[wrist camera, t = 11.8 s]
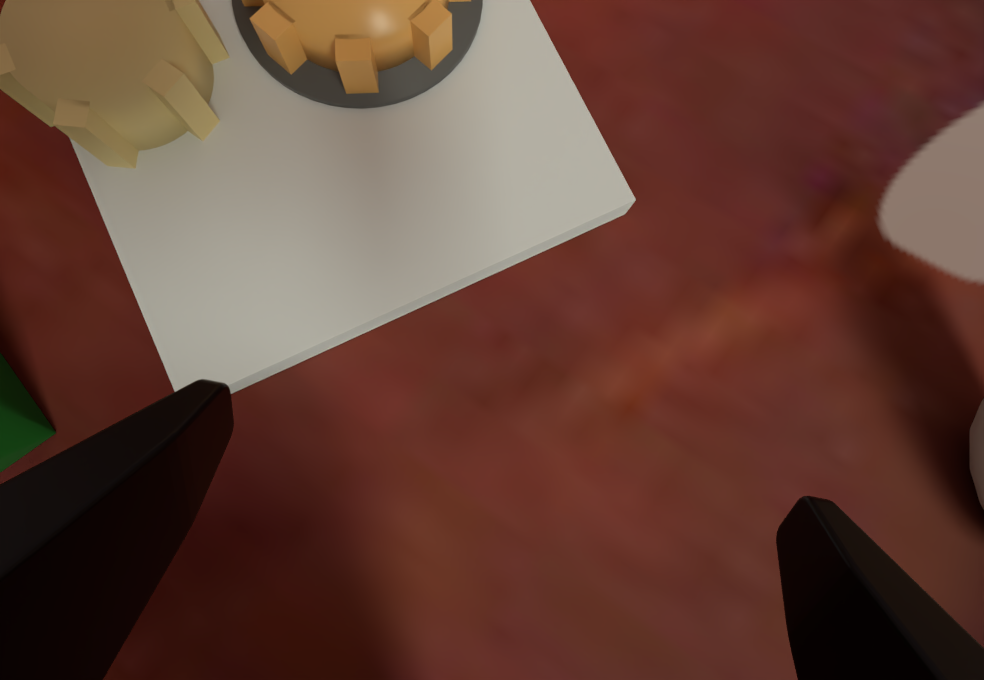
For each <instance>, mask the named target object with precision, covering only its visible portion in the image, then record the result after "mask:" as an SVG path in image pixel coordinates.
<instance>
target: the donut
mask: <svg viewBox="0 0 984 680" xmlns="http://www.w3.org/2000/svg"><path fill="white" fill-rule="evenodd" d="M970 471H971V475H972V478H973V482H974V485H975V488H976V492H977V495H978V498H979V502H980V504H981V506H982V508H983V509H984V398H983V400H982V401H981V404H980V406H979V408H978V411H977V413H976V416H975V418H974V420H973V423H972V425H971V427H970Z"/></svg>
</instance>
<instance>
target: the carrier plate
mask: <svg viewBox="0 0 984 680" xmlns="http://www.w3.org/2000/svg"><path fill="white" fill-rule="evenodd" d="M261 7H263V6H244V4H243V2H242V0H6V1H5V3H4V6H3V8H2V11H1V14H0V89H1V90H2V91H3V92H5V93H6V94H7V95H9V96H10V97H11V98H13V99H14V100H15V101H17V102H18V103H19V104H21V105H22V106H23V107H25V108H26V109H27V110H29V111H30V112H31V113H33V114H34V115H35V116H37V117H38V118H39V119H41V120H42V121H43V122H45V123H46V124H47V125H49V126H50V127H53V126H55V127H57V128H58V129H59V130H60V131H62V132H63V133H64V134H66V135H67V136H68V137H69V138H70V140H71V143H72V145H73V148H74V150H75V152H76V155H77V157H78V160H79V162H80V165H81V167H82V169H83V172H84V174H85V177H86V179H87V181H88V184H89V186H90V189H91V191H92V193H93V196H94V198H95V201H96V203H97V205H98V208H99V210H100V213H101V215H102V218H103V220H104V222H105V225H106V227H107V230H108V232H109V234H110V237H111V239H112V242H113V244H114V246H115V249H116V251H117V254H118V256H119V258H120V261H121V263H122V266H123V268H124V271H125V273H126V275H127V278H128V280H129V283H130V285H131V287H132V290H133V292H134V295H135V297H136V299H137V302H138V304H139V307H140V309H141V311H142V314H143V316H144V319H145V321H146V324H147V326H148V328H149V331H150V333H151V336H152V338H153V340H154V343H155V345H156V348H157V350H158V352H159V355H160V357H161V360H162V362H163V364H164V367H165V369H166V372H167V374H168V377H169V379H170V381H171V384H172V386H173V389H174V391H175V392H176V391H177V390H179V389H181V388H183V387H185V386H187V385H189V384H191V383H192V382H194V381H197V380H200V379H207V380H212V381H218V382H223V383H225V384H227V385H228V386H229V388H230V392H231V394H232V393H234V392H236V391H239V390H241V389H243V388H245V387H247V386H250V385H252V384H254V383H256V382H258V381H261V380H263V379H265V378H267V377H269V376H272V375H274V374H276V373H278V372H280V371H282V370H285V369H287V368H289V367H291V366H293V365H296V364H298V363H300V362H302V361H304V360H307V359H309V358H311V357H313V356H315V355H318V354H320V353H322V352H324V351H326V350H328V349H331V348H333V347H335V346H337V345H339V344H342V343H344V342H346V341H348V340H350V339H353V338H355V337H357V336H359V335H361V334H364V333H366V332H368V331H370V330H372V329H374V328H377V327H379V326H381V325H383V324H385V323H388V322H390V321H392V320H394V319H396V318H399V317H401V316H403V315H405V314H407V313H410V312H412V311H414V310H416V309H418V308H420V307H423V306H425V305H427V304H429V303H431V302H434V301H436V300H438V299H440V298H442V297H445V296H447V295H449V294H451V293H453V292H456V291H458V290H460V289H462V288H464V287H467V286H469V285H471V284H473V283H475V282H477V281H480V280H482V279H484V278H486V277H488V276H491V275H493V274H495V273H497V272H499V271H502V270H504V269H506V268H508V267H510V266H513V265H515V264H517V263H519V262H521V261H523V260H526V259H528V258H530V257H532V256H534V255H537V254H539V253H541V252H543V251H545V250H548V249H550V248H552V247H554V246H556V245H559V244H561V243H563V242H565V241H567V240H569V239H572V238H574V237H576V236H578V235H580V234H583V233H585V232H587V231H589V230H591V229H594V228H596V227H598V226H600V225H602V224H605V223H607V222H609V221H611V220H613V219H615V218H618V217H620V216H622V215H624V214H626V212H627V211H628V210H629V208H630V207H631V206H632V204H633V203H634V202H635V200H636V199H635V197H634V196H633V194H632V192H631V190H630V188H629V186H628V184H627V182H626V180H625V179H624V177H623V175H622V173H621V171H620V169H619V167H618V165H617V164H616V162H615V160H614V158H613V156H612V154H611V152H610V150H609V149H608V147H607V145H606V143H605V141H604V139H603V137H602V135H601V133H600V132H599V130H598V128H597V126H596V124H595V122H594V120H593V118H592V117H591V115H590V113H589V111H588V109H587V107H586V105H585V103H584V101H583V100H582V98H581V96H580V94H579V92H578V90H577V88H576V86H575V85H574V83H573V81H572V79H571V77H570V75H569V73H568V71H567V70H566V68H565V66H564V64H563V62H562V60H561V58H560V56H559V54H558V53H557V51H556V49H555V47H554V45H553V43H552V41H551V39H550V38H549V36H548V34H547V32H546V30H545V28H544V26H543V24H542V23H541V21H540V19H539V17H538V15H537V13H536V11H535V9H534V7H533V6H532V4H531V2H530V0H471V1H462V2H449V4H448V11H449V12H450V13H452V50H451V51H450V52H449V53H448V54H447V55H446V56H445V57H444V58H443V59H442V60H441V61H440V62H439V63H438V64H437V65H436V66H435V67H434V68H433V69H432V70H430V69H429V68H428V67H427V66H425V65H424V64H423V63H422V62H421V61H419V60H418V59H417V58H416V57H415V56H414V57H413V58H411V59H410V60H408V61H406V62H404V63H402V64H400V65H398V66H396V67H393V68H390V69H387V70H383V71H378V88H379V93H355V94H346V91H345V88H344V85H343V82H342V79H341V76H340V73H339V72H338V71H334V70H331V69H327V68H324V67H322V66H319V65H317V64H314V63H313V62H311V61H309V60H306V61H305V62H304V63H303V64H302V65H301V66H300V67H299V68H298V69H297V70H296V71H295V72H294V73H292V74H290V73H288V72H287V71H286V70H285V69H284V68H283V67H281V66H280V65H279V64H278V63H277V62H276V61H274V60H273V59H272V58H271V57H270V56H269V55H268V54H267V52H266V50H265V48H264V46H263V44H262V42H261V41H260V39H259V37H258V35H257V33H256V31H255V29H254V27H253V25H252V23H251V21H250V19H249V18H251V17H252V16H253V15H254V14H255V13H256V12H257V11H258V10H259V9H260V8H261Z"/></svg>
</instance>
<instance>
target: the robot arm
mask: <svg viewBox="0 0 984 680" xmlns="http://www.w3.org/2000/svg"><path fill="white" fill-rule="evenodd" d="M233 424H234V421H233V411H232V402H231V392H230V388H229V386H228V385H227V384H225V383H223V382H218V381H212V380H207V379H200V380H197V381H194V382H192V383H191V384H189V385H187V386H185V387H183V388H181V389H179V390H177V391H176V392H174V393H172V394H170V395H168V396H166V397H164V398H162V399H160V400H159V401H157V402H155V403H153V404H151V405H149V406H147V407H145V408H144V409H142V410H140V411H138V412H136V413H134V414H132V415H130V416H128V417H127V418H125V419H123V420H121V421H119V422H117V423H115V424H113V425H112V426H110V427H108V428H106V429H104V430H102V431H100V432H98V433H96V434H95V435H93V436H91V437H89V438H87V439H85V440H83V441H81V442H80V443H78V444H76V445H74V446H72V447H70V448H68V449H66V450H64V451H63V452H61V453H59V454H57V455H55V456H53V457H51V458H49V459H48V460H46V461H44V462H42V463H40V464H38V465H36V466H34V467H32V468H31V469H29V470H27V471H25V472H23V473H21V474H19V475H17V476H16V477H14V478H12V479H10V480H8V481H6V482H4V483H2V484H0V680H103V678H104V676H105V675H106V673H107V671H108V670H109V668H110V666H111V664H112V663H113V661H114V659H115V657H116V656H117V654H118V652H119V651H120V649H121V647H122V645H123V644H124V642H125V640H126V639H127V637H128V635H129V633H130V632H131V630H132V628H133V626H134V625H135V623H136V621H137V620H138V618H139V616H140V614H141V613H142V611H143V609H144V607H145V606H146V604H147V602H148V601H149V599H150V597H151V595H152V594H153V592H154V590H155V588H156V587H157V585H158V583H159V582H160V580H161V578H162V576H163V575H164V573H165V571H166V569H167V568H168V566H169V564H170V563H171V561H172V559H173V557H174V556H175V554H176V552H177V551H178V549H179V547H180V545H181V544H182V542H183V540H184V538H185V537H186V535H187V533H188V531H189V529H190V527H191V526H192V524H193V522H194V519H195V517H196V515H197V513H198V511H199V509H200V506H201V504H202V502H203V499H204V497H205V495H206V493H207V490H208V488H209V486H210V483H211V481H212V479H213V477H214V474H215V472H216V470H217V467H218V465H219V463H220V460H221V458H222V456H223V454H224V451H225V449H226V447H227V444H228V442H229V440H230V437H231V435H232V431H233ZM776 544H777V552H778V560H779V569H780V577H781V585H782V593H783V601H784V610H785V618H786V625H787V631H788V637H789V642H790V647H791V652H792V656H793V660H794V665H795V669H796V673H797V678H798V680H984V648H983V647H982V646H981V645H980V644H979V643H978V642H977V641H976V640H975V639H974V638H973V637H972V636H971V635H970V634H968V633H967V632H966V631H965V630H964V629H963V628H962V627H961V626H960V625H959V624H958V623H957V622H956V621H955V620H954V619H953V618H952V617H951V616H950V615H949V614H948V613H947V612H946V611H945V610H944V609H943V608H942V607H941V606H940V605H939V604H938V603H937V602H936V601H935V600H934V599H932V598H931V597H930V596H929V595H928V594H927V593H926V592H925V591H924V590H923V589H922V588H921V587H920V586H919V585H918V584H917V583H916V582H915V581H914V580H913V579H912V578H911V577H910V576H909V575H908V574H907V573H906V572H905V571H904V570H903V569H902V568H901V567H900V566H899V565H898V564H897V563H895V562H894V561H893V560H892V559H891V558H890V557H889V556H888V555H887V554H886V553H885V552H884V551H883V550H882V549H881V548H880V547H879V546H878V545H877V544H876V543H875V542H874V541H873V540H872V539H871V538H870V537H869V536H868V535H867V534H866V533H865V532H864V531H863V530H862V529H861V528H860V527H858V526H857V525H856V524H855V523H854V522H853V521H852V520H851V519H850V518H849V517H848V516H847V515H846V514H845V513H844V512H843V511H842V510H841V509H840V508H839V507H838V506H837V505H836V504H835V503H833V502H832V501H830V500H827V499H822V498H817V497H812V496H804V497H802V498H800V499H799V500H798V501H797V502H796V504H795V505H794V507H793V508H792V509H791V511H790V512H789V514H788V515H787V516H786V518H785V519H784V520H783V522H782V523H781V525H780V526H779V528H778V531H777V536H776Z"/></svg>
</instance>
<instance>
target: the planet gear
mask: <svg viewBox="0 0 984 680" xmlns="http://www.w3.org/2000/svg"><path fill="white" fill-rule="evenodd" d="M462 1H471V0H242V2H243V4H244V6H263V7H261V8H260V9H259V10H258V11H257V12H256V13H255V14H254V15H253V16H252V17H251V18H249V19H250V21H251V23H252V25H253V27H254V29H255V31H256V33H257V35H258V37H259V39H260V41H261V42H262V44H263V46H264V48H265V50H266V52H267V54H268V55H269V56H270V57H271V58H272V59H273V60H274V61H276V62H277V63H278V64H279V65H280V66H281V67H283V68H284V69H285V70H286V71H287V72H288V73H290V74H292V73H294V72H295V71H296V70H297V69H298V68H299V67H300V66H301V65H302V64H303V63H304V62H305V61H306V60H309V61H311V62H313V63H314V64H317V65H319V66H322V67H324V68H327V69H331V70H334V71H338V72H339V73H340V76H341V79H342V82H343V85H344V88H345V91H346V94H355V93H379V88H378V71H383V70H387V69H390V68H393V67H396V66H398V65H400V64H402V63H404V62H406V61H408V60H410V59H411V58H413V57H414V56H415V57H416V58H417V59H418V60H419V61H421V62H422V63H423V64H424V65H425V66H427V67H428V68H429V69H430V70H432V69H433V68H434V67H435V66H436V65H437V64H438V63H439V62H440V61H441V60H442V59H443V58H444V57H445V56H446V55H447V54H448V53H449V52H450V51H451V50H452V13H450V12H449V11H448V4H449V2H462Z"/></svg>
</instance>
